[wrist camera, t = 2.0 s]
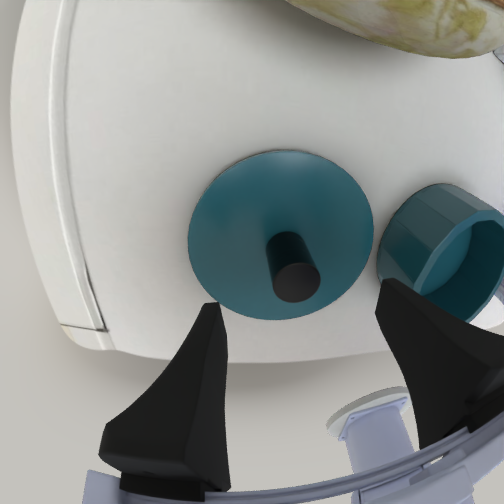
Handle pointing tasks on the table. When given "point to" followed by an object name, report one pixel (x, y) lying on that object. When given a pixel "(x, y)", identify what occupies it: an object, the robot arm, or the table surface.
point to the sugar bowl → (418, 23)
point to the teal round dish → (446, 249)
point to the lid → (280, 235)
